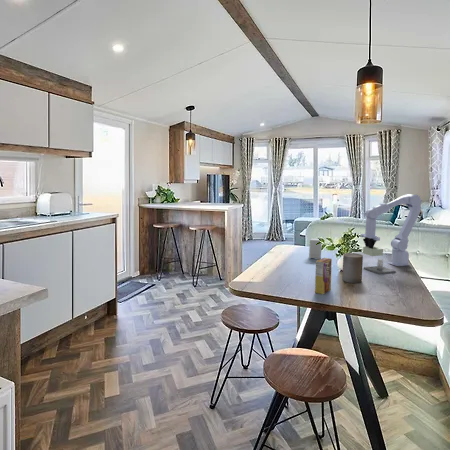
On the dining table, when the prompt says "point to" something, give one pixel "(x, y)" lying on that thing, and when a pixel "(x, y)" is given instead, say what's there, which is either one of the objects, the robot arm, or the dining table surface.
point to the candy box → (323, 275)
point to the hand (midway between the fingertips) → (369, 250)
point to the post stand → (380, 268)
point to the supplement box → (315, 249)
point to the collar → (373, 251)
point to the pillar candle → (352, 267)
